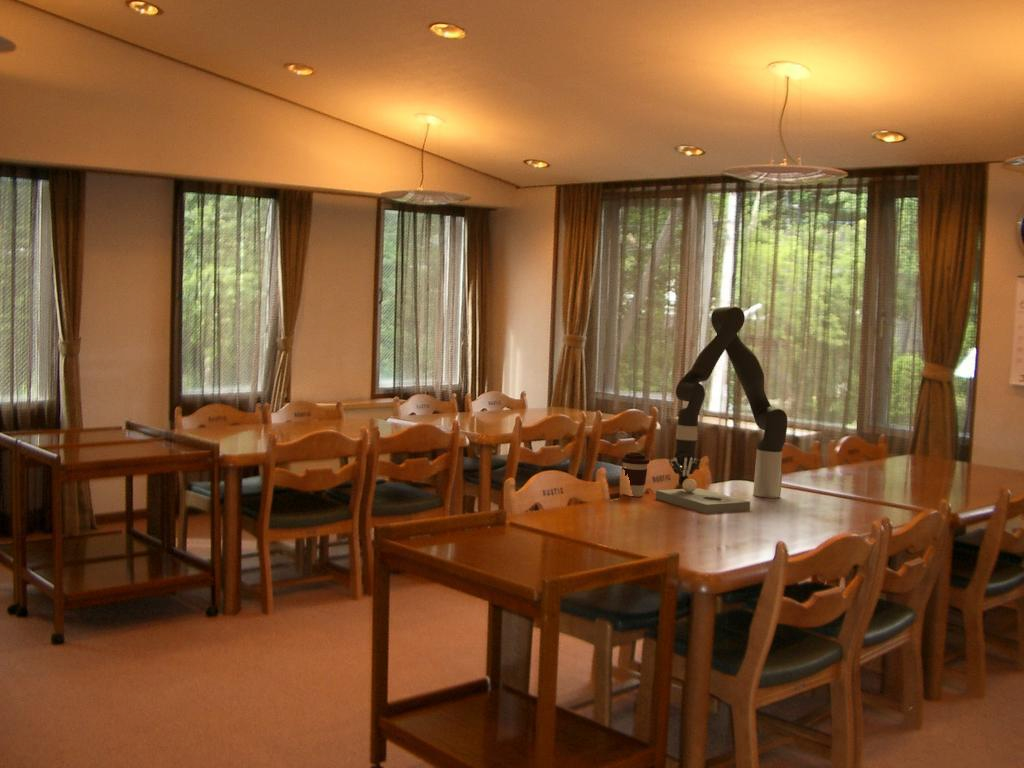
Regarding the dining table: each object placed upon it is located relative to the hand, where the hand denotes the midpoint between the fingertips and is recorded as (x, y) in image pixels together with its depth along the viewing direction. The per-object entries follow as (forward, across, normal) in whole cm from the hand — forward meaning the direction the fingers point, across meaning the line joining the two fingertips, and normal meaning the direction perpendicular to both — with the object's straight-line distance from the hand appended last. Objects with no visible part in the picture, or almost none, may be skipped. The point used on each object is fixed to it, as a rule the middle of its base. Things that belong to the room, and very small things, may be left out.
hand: (682, 486), depth 372 cm
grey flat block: (+5, 0, +11) cm, 12 cm away
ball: (-1, 0, +4) cm, 4 cm away
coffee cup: (+5, +14, -10) cm, 18 cm away
